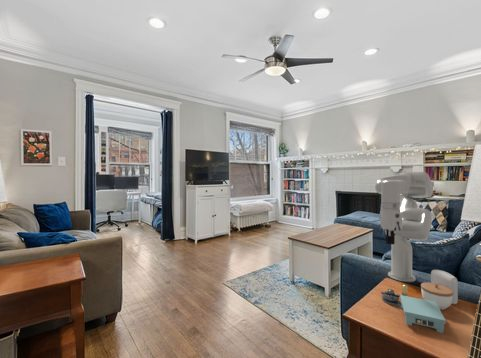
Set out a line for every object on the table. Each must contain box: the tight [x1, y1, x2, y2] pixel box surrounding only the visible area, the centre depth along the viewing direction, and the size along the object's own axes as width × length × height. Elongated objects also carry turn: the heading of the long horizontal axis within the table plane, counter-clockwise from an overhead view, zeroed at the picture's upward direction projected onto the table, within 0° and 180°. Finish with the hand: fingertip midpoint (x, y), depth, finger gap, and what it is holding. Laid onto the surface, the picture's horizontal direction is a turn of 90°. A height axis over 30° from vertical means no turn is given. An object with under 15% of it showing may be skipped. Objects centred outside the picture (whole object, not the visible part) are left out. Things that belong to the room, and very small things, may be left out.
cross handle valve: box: [380, 284, 409, 303], centre depth 106 cm, size 10×7×7 cm
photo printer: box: [430, 269, 459, 305], centre depth 108 cm, size 10×4×12 cm, turn 9°
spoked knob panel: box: [381, 294, 447, 334], centre depth 97 cm, size 22×18×5 cm
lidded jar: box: [420, 282, 453, 311], centre depth 102 cm, size 11×11×9 cm
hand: (390, 243), depth 115 cm, fingers closed
